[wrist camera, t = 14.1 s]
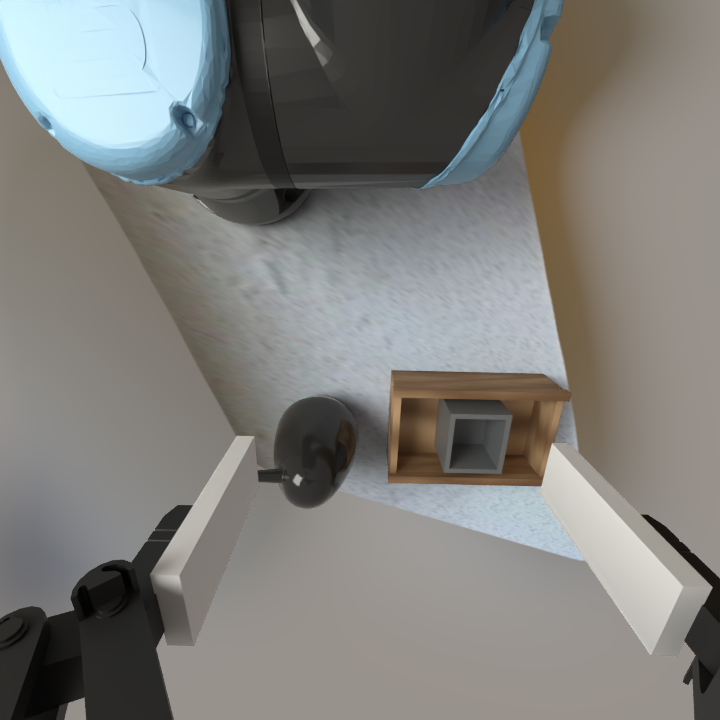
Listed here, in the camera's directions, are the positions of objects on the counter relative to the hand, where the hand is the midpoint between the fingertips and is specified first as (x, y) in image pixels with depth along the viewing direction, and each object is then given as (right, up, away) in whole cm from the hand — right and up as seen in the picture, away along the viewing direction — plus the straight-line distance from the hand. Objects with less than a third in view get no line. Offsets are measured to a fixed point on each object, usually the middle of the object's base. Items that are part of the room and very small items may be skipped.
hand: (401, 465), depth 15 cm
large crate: (+12, -3, +31) cm, 34 cm away
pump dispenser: (-7, -3, +32) cm, 33 cm away
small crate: (+12, -3, +31) cm, 33 cm away
